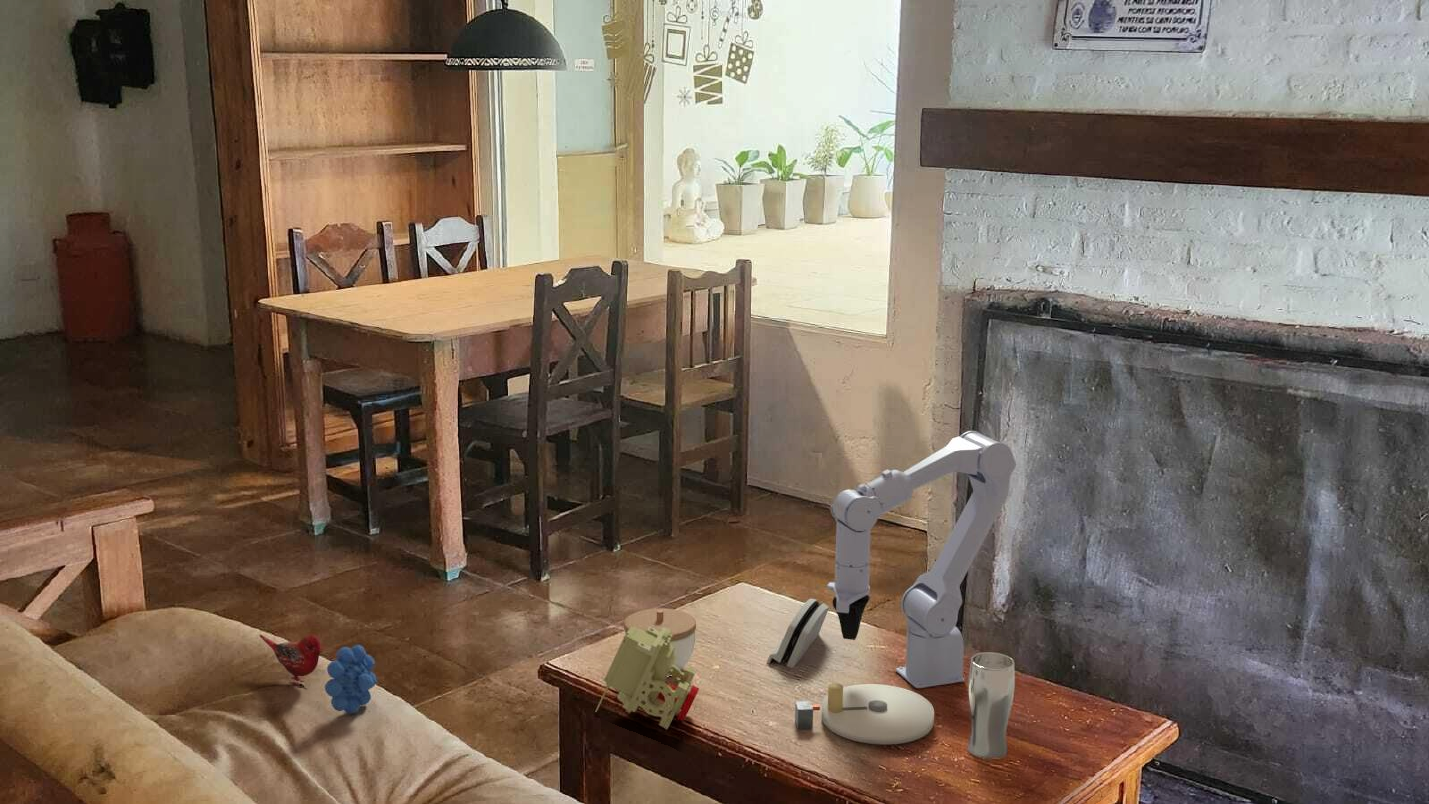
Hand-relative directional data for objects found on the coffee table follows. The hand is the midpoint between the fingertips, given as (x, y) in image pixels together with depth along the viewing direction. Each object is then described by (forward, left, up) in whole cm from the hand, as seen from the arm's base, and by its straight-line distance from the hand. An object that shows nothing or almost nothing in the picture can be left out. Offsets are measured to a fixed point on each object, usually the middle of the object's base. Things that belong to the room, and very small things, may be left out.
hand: (849, 637), depth 226 cm
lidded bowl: (+28, -18, -10) cm, 35 cm away
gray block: (+13, +10, -9) cm, 19 cm away
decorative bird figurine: (+89, -34, -10) cm, 96 cm away
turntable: (+1, +13, -9) cm, 16 cm away
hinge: (+1, -18, -10) cm, 21 cm away
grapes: (+80, -17, -10) cm, 82 cm away
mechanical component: (+33, 0, -10) cm, 34 cm away
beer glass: (-11, +27, -10) cm, 31 cm away
